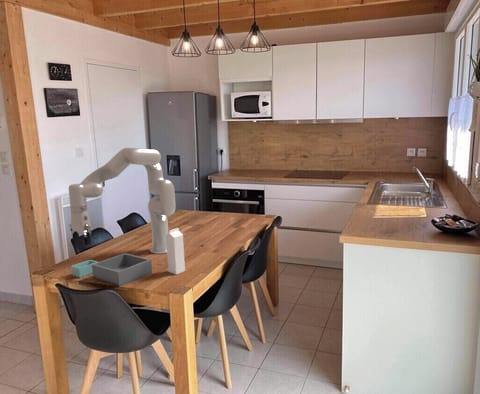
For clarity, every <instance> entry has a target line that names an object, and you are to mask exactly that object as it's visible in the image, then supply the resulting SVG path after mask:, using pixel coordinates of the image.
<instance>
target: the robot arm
mask: <svg viewBox="0 0 480 394" xmlns="http://www.w3.org/2000/svg"><path fill="white" fill-rule="evenodd" d="M161 160H162V154H161V152H159V151H158V150H157V149H154V148H153V149H152V148H140V147H139V148H137V147H123V148H122V149H120V150H119V151H118V152H117V153H115V155H114V156H112V158H111V159H110V160H108V162H106V163H105V164H103V165H102V166H100V167H99V168H97V169H95V170H94V171H92V172H90V174H89V175H87V176H86V177H85V178H84V179H83V180H82V181H81V182H80V183H73V184H70V185H69V186H68V194H69V195H68V197H69V207H70V224H69V228H70V232H71V235H72V242H73V243H77V242H79V241H80V234H83V236H84V237H83V241H84V245H85V246H88V245H91V243H92V241H91V240H92V239H91V236H92V232H93V228H92V225H91V220H90V215H89V212H88V205H87V204H88V203H87V199H88V198H93V199H94V198H98V197H100V196H101V195H102V194H103V191H104V188H103V186H102V185H101V184H102V183H104V182H105V181H108V180H112V179H115V178H118V177H119V176H120V175H121V174H122V173H123V172H124V171H125V170H126V169H127V168H128V167H129V166H130V165H138V166H139V165H140V166H143V167H144V168H145V170H146V173H147V182H148V190H149V193H150V194H152V195H153V196H154V197H152V198H150V199H149V201H148V204H147V208H148V213H149V217H150V225H151V227H150V228H151V241H152V247H151V248H150V250H149V251H150V253H151V254H156V255H157V254H167V245H166V235H168V234H169V221H168V220H169V219H168V216H172V215H173V214H175V210H176V206H177V205H176V204H177V203H176V193H175V192H176V191H175V186H174V184H173V183H172V180H171V181H170V180H169V179H165V178H164V174H163V173H164V172H163V167H162V164H161V163H160V162H161Z"/></svg>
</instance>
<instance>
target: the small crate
mask: <svg viewBox="0 0 480 394" xmlns="http://www.w3.org/2000/svg"><path fill="white" fill-rule="evenodd" d="M98 262H99V261H96V260H92V259H89V260H88V259H87V260H85V261H82V262H79V263H76V264H74V265H71V266H70V267H71V268H70V269H71V276H72V275H73V277H75V276H76V277H75V278H78V277H79V278H78V279H82V277H83V278H85V277H88V276H90V274H91V275H93V271H92V264H95V263H98ZM84 276H85V277H84Z"/></svg>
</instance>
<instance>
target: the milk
mask: <svg viewBox="0 0 480 394" xmlns="http://www.w3.org/2000/svg"><path fill="white" fill-rule="evenodd" d="M168 232H169V234H168V235H166V245H167V253H166V258H167V270H168V273H171V274H174V275H178V274H179V275H180V273H183V272H185V271H186V263H185V262H186V261H185V249H184V248H185V246H184V234H183V233H182V232H181V231H180V230H179V227H176V228H173V229H169V230H168Z"/></svg>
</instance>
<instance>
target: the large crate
mask: <svg viewBox="0 0 480 394" xmlns="http://www.w3.org/2000/svg"><path fill="white" fill-rule="evenodd" d="M97 262H98V263H95V264H92V271H93V274H92V278H93V279H94V280H96V281H97V280H98V281H101V282H104V283H108V284H110V285H113V286H117V287H118V288H119V287H120V288H121V287H122V286H124V285H127V284H129V283H132V282H134V281H136V280H137V281H138V280H139V279H142V278H144V277H147V276H148V275H151V274H153V266H152V265H153V263H152V259H150V258H146V257H141V256H139V255H135V254H131V253H126V252H125V253H121V254H119V255H116V256H113V257H109V258H106V259H103V260H101V261H97Z"/></svg>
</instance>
